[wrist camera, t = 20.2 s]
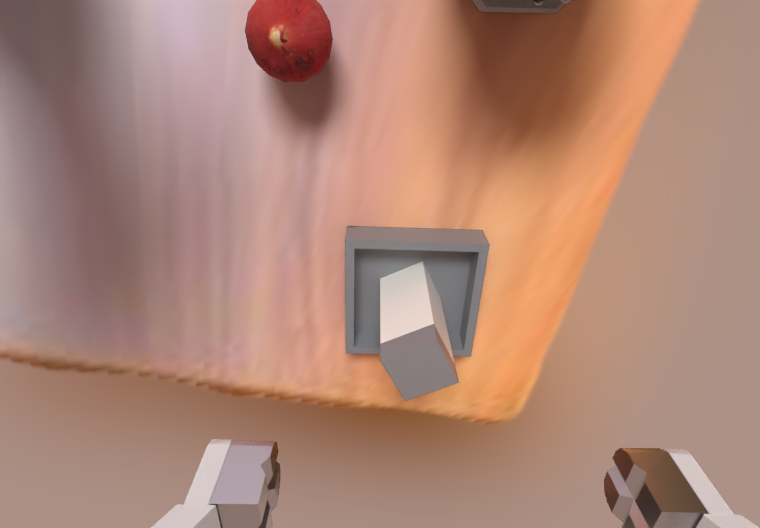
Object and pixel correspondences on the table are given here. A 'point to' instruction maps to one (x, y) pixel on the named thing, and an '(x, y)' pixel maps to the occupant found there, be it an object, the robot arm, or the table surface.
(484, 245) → the walled box
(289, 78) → the onion
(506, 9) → the tankard
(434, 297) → the plug
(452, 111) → the table surface
